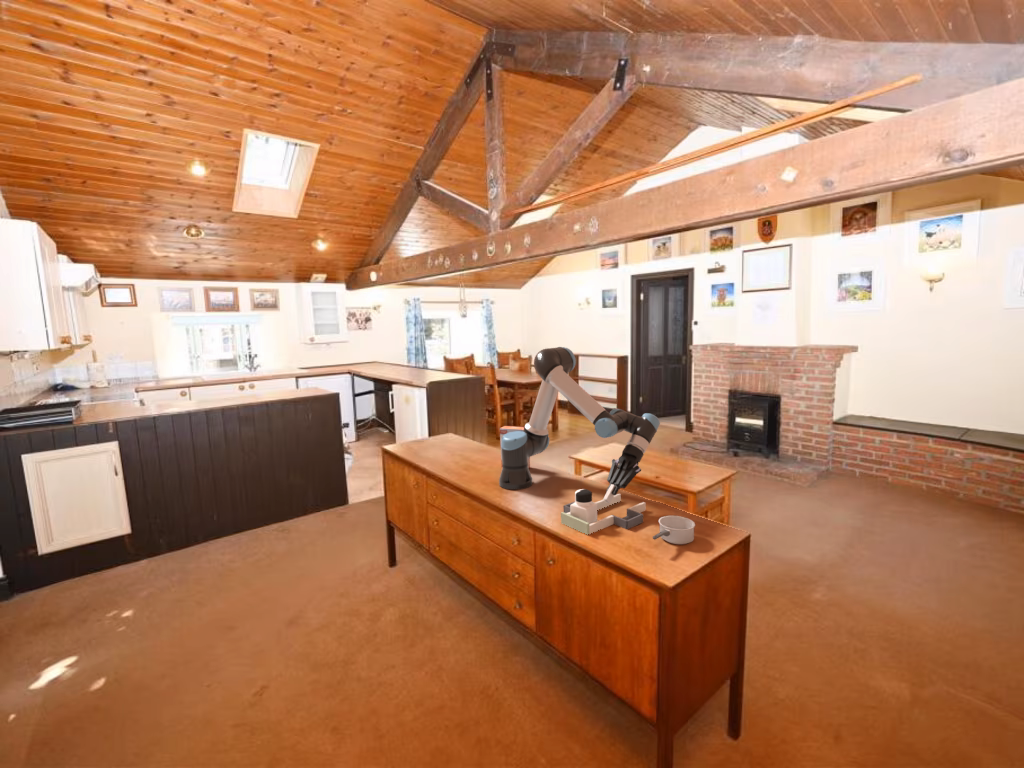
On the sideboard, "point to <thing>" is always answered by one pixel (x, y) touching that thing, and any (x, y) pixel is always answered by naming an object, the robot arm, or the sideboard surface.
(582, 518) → the medicine bottle
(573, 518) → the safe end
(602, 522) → the channel
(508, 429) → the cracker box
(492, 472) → the sideboard surface
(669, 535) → the saucepan
